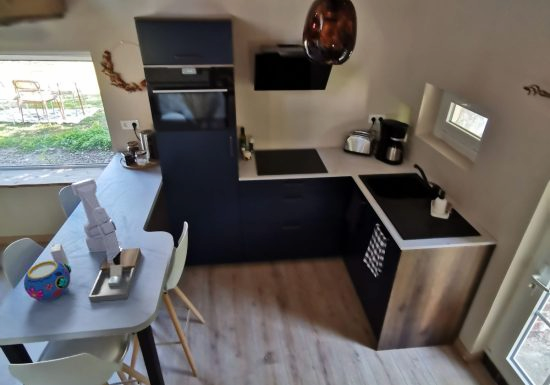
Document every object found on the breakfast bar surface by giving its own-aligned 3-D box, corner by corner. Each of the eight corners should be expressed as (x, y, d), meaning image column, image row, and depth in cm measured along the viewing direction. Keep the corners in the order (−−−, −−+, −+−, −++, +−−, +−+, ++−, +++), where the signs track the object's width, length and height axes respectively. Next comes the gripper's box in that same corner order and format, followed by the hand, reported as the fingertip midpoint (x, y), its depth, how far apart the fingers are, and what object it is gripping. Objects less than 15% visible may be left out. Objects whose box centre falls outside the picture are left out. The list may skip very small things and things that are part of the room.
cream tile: (111, 275, 165) (110, 275, 163) (112, 265, 166) (110, 265, 164) (122, 275, 166) (120, 275, 164) (122, 264, 167) (121, 264, 165)
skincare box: (67, 268, 171) (60, 250, 165) (57, 270, 169) (50, 252, 163) (68, 261, 175) (61, 242, 169) (58, 263, 174) (51, 245, 168)
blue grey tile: (110, 275, 163) (111, 278, 164) (107, 283, 159) (108, 286, 160) (121, 274, 164) (122, 277, 165) (118, 282, 159) (119, 285, 160)
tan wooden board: (102, 274, 167) (100, 268, 165) (110, 256, 179) (108, 250, 177) (135, 271, 169) (134, 265, 167) (141, 253, 181) (140, 248, 179)
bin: (90, 302, 152) (88, 296, 150) (102, 274, 167) (100, 269, 165) (127, 299, 154) (125, 293, 152) (135, 271, 169) (134, 266, 167)
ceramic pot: (70, 303, 151) (60, 278, 144) (25, 311, 147) (12, 287, 139) (78, 276, 166) (69, 253, 158) (37, 283, 161) (26, 260, 154)
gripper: (116, 252, 154) (122, 273, 161) (124, 233, 167) (129, 254, 174) (100, 253, 153) (107, 275, 160) (109, 234, 166) (115, 255, 173)
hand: (117, 264), depth 167 cm, fingers closed
